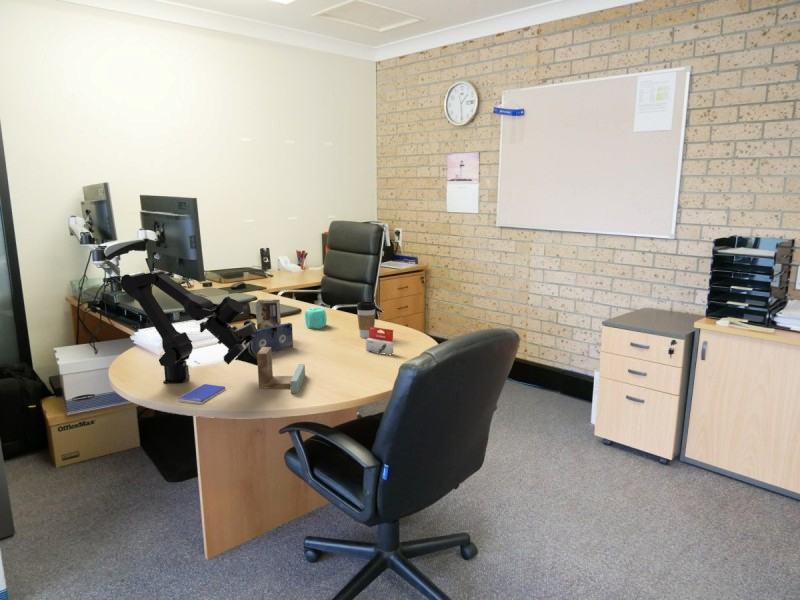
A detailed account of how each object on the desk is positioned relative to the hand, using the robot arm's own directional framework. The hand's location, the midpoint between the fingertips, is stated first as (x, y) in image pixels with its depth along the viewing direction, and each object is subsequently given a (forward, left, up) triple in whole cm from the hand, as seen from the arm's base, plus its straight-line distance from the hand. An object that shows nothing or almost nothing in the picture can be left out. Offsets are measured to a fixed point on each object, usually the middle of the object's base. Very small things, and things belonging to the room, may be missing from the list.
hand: (259, 364), depth 174 cm
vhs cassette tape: (-4, +35, -7) cm, 36 cm away
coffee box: (-9, +54, -7) cm, 55 cm away
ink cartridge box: (+38, +33, -7) cm, 51 cm away
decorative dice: (+8, +73, -7) cm, 74 cm away
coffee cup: (+32, +56, -7) cm, 65 cm away
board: (+12, 0, -7) cm, 14 cm away
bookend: (+6, 0, -7) cm, 9 cm away
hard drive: (-16, -9, -7) cm, 20 cm away
